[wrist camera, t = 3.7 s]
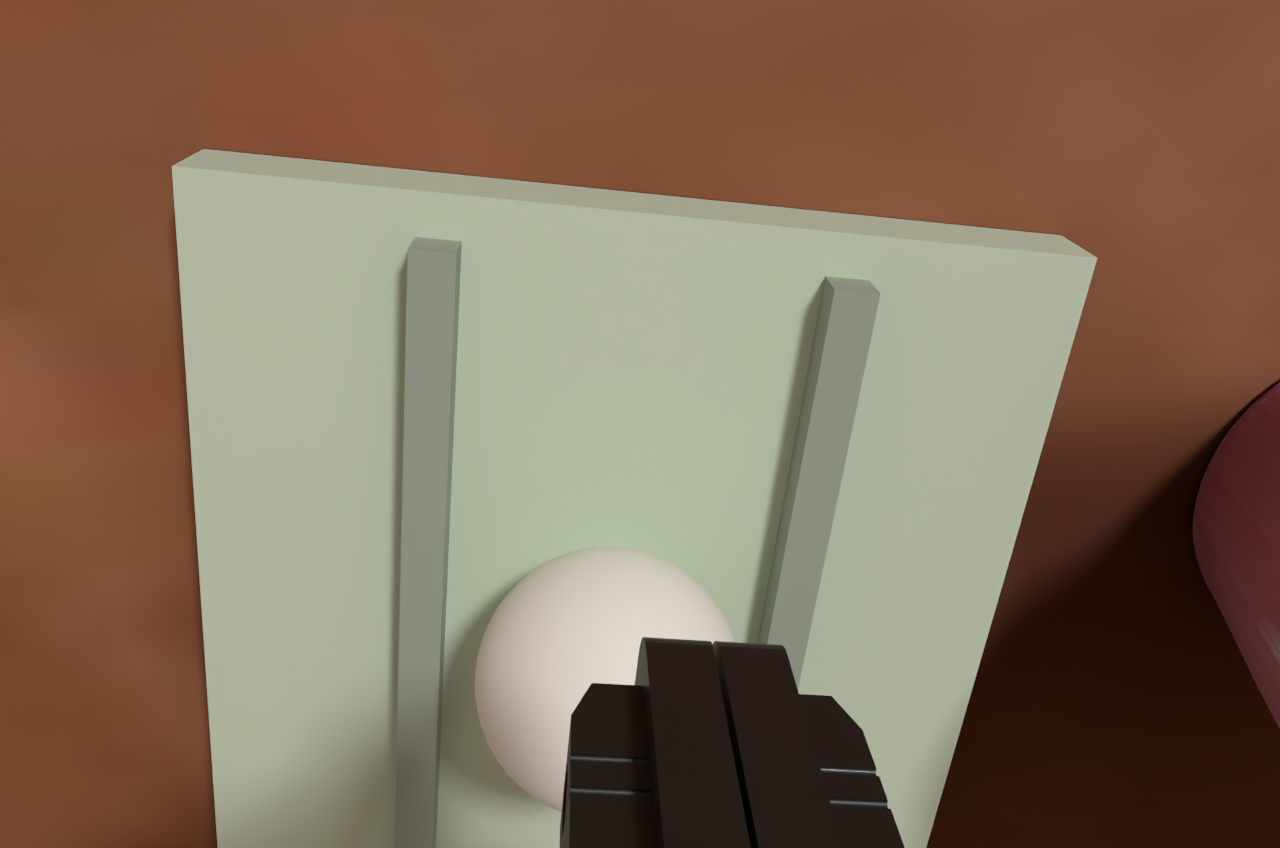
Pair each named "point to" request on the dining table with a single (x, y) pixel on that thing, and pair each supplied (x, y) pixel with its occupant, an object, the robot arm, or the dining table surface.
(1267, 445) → the plant pot
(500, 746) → the ball
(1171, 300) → the dining table surface
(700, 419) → the putting mat
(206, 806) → the dining table surface
